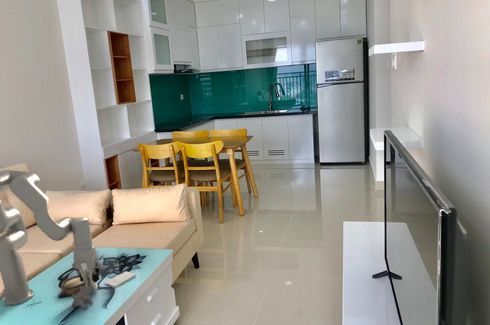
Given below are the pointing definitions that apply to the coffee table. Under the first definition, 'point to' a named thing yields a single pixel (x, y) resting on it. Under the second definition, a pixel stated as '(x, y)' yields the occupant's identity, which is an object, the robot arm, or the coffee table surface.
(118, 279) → the external hard drive
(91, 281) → the silver metal cup
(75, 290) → the brown round bowl
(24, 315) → the coffee table surface
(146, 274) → the coffee table surface
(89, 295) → the elephant statuette
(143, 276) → the coffee table surface
